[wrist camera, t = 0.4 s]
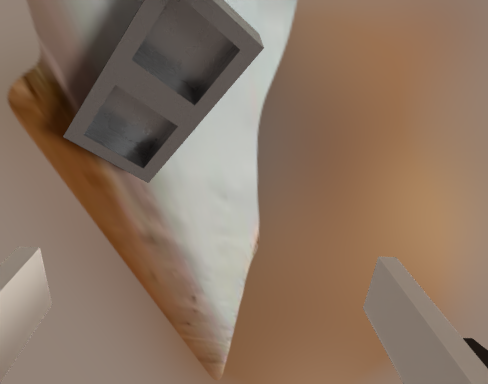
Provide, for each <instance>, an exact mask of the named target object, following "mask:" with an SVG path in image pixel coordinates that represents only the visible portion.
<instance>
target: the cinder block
mask: <svg viewBox="0 0 488 384" xmlns="http://www.w3.org/2000/svg"><path fill="white" fill-rule="evenodd" d="M263 48H264V47H263V44H262V41H261V38H260V35H259V34H258V33H257V32H256V31H255V30H254V29H253V28H252V27H251V26H250V25H249V24H248V23H247V22H246V21H245V20H244V19H243V18H242V17H241V16H240V15H239V14H238V13H237V12H235V11H234V10H233V9H232V8H231V7H230V6H229V5H228V4H227V3H226V2H225V1H224V0H144V1H143V3H142V5H141V7H140V8H139V10H138V12H137V13H136V15H135V17H134V18H133V20H132V22H131V23H130V25H129V27H128V28H127V30H126V32H125V33H124V35H123V37H122V38H121V40H120V42H119V44H118V45H117V47H116V49H115V50H114V52H113V54H112V55H111V57H110V59H109V60H108V62H107V64H106V65H105V67H104V69H103V70H102V72H101V74H100V76H99V77H98V79H97V81H96V82H95V84H94V86H93V87H92V89H91V91H90V92H89V94H88V96H87V97H86V99H85V101H84V102H83V104H82V106H81V108H80V109H79V111H78V113H77V114H76V116H75V118H74V119H73V121H72V123H71V124H70V126H69V128H68V129H67V131H66V133H65V134H64V136H63V137H64V138H66V139H68V140H70V141H72V142H74V143H75V144H77V145H79V146H81V147H83V148H85V149H87V150H88V151H90V152H92V153H94V154H96V155H98V156H99V157H101V158H103V159H105V160H107V161H109V162H110V163H112V164H114V165H116V166H118V167H120V168H122V169H123V170H125V171H127V172H129V173H131V174H133V175H134V176H136V177H138V178H140V179H142V180H144V181H145V182H147V183H149V182H150V180H151V179H152V178H153V177H154V176H155V175H156V173H157V172H158V171H159V170H160V169H161V168H162V166H163V165H164V164H165V163H166V162H167V161H168V159H169V158H170V157H171V156H172V155H173V154H174V152H175V151H176V150H177V149H178V148H179V147H180V145H181V144H182V143H183V142H184V141H185V140H186V138H187V137H188V136H189V135H190V134H191V133H192V131H193V130H194V129H195V128H196V127H197V125H198V124H199V123H200V122H201V121H202V120H203V118H204V117H205V116H206V115H207V114H208V113H209V111H210V110H211V109H212V108H213V107H214V106H215V104H216V103H217V102H218V101H219V100H220V99H221V97H222V96H223V95H224V94H225V93H226V92H227V90H228V89H229V88H230V87H231V86H232V85H233V83H234V82H235V81H236V80H237V79H238V78H239V76H240V75H241V74H242V73H243V72H244V71H245V69H246V68H247V67H248V66H249V65H250V64H251V62H252V61H253V60H254V59H255V58H256V57H257V55H258V54H259V53H260V52H261V51H262V50H263Z"/></svg>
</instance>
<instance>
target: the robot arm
mask: <svg viewBox="0 0 488 384" xmlns="http://www.w3.org/2000/svg"><path fill="white" fill-rule="evenodd" d="M51 306H52V302H51V297H50V293H49V288H48V283H47V278H46V274H45V269H44V265H43V260H42V255H41V251H40V248H38V247H18V248H17V249H16V250H14V251H13V252H12V253H11V254H10V255H9V257H7V258H6V259H5V260H4V261H3V263H1V264H0V383H1V381H2V380H3V378H4V377H5V375H6V374H7V372H8V370H9V369H10V368H11V366H12V365H13V363H14V362H15V360H16V359H17V357H18V355H19V354H20V352H21V351H22V350H23V348H24V347H25V345H26V343H27V342H28V340H29V339H30V337H31V336H32V334H33V333H34V331H35V330H36V328H37V327H38V325H39V324H40V322H41V321H42V319H43V318H44V316H45V315H46V313H47V312H48V310H49V308H50V307H51ZM363 309H364V311H365V313H366V315H367V317H368V319H369V321H370V323H371V324H372V326H373V328H374V330H375V332H376V334H377V336H378V337H379V339H380V341H381V343H382V345H383V346H384V349H385V351H386V352H387V354H388V356H389V358H390V360H391V362H392V364H393V366H394V367H395V369H396V371H397V373H398V375H399V377H400V379H401V380H402V382H403V384H488V350H487V349H485V348H484V347H483V346H481V345H480V344H479V343H477V342H476V341H475V340H474V339H472V338H462V337H461V336H460V334H459V333H458V332H457V331H456V330H455V328H454V327H453V326H452V325H451V323H450V322H449V321H448V320H447V319H446V318H445V316H444V315H443V314H442V313H441V311H440V310H439V309H438V308H437V306H436V305H435V304H434V303H433V302H432V301H431V299H430V298H429V297H428V295H427V294H426V293H425V292H424V291H423V289H422V288H421V287H420V286H419V285H418V283H417V282H416V281H415V280H414V278H413V277H412V276H411V275H410V273H409V272H408V271H407V270H406V269H405V267H404V266H403V265H402V264H401V263H400V261H399V260H398V259H397V258H396V257H378V260H377V263H376V266H375V270H374V273H373V277H372V280H371V284H370V287H369V290H368V294H367V297H366V300H365V304H364V307H363Z"/></svg>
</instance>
